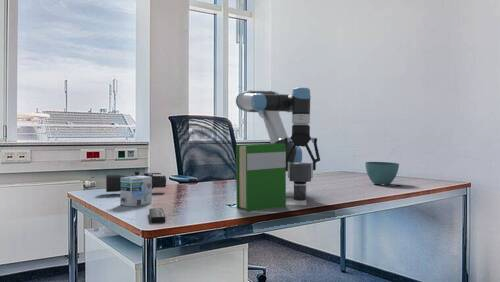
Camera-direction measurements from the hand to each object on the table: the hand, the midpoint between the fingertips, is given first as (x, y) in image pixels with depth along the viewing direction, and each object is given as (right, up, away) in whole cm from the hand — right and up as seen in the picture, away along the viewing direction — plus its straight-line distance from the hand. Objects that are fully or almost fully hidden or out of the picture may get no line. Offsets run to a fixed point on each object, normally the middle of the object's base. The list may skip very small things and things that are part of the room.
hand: (300, 177), depth 172 cm
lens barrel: (0, -9, 0) cm, 9 cm away
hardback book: (-17, -10, -18) cm, 27 cm away
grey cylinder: (0, -1, 0) cm, 1 cm away
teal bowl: (+54, -9, +59) cm, 80 cm away
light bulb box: (-66, -9, -13) cm, 68 cm away
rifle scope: (-73, -9, +14) cm, 75 cm away
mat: (-4, -10, -4) cm, 11 cm away
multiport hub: (-52, -10, -38) cm, 65 cm away
